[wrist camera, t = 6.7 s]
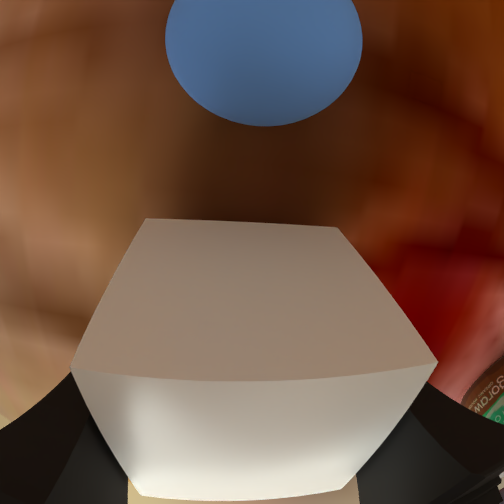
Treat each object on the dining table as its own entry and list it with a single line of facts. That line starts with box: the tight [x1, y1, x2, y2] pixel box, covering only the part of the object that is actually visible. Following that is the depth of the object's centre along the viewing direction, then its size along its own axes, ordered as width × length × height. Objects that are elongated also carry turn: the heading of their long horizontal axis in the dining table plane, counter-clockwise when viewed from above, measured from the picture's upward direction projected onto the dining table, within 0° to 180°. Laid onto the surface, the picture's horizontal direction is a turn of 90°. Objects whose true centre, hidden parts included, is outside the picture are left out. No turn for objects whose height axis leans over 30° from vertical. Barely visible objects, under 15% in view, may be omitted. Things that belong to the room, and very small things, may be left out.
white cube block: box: [70, 218, 438, 501], centre depth 9 cm, size 6×6×6 cm
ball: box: [165, 0, 362, 126], centre depth 7 cm, size 5×5×5 cm
